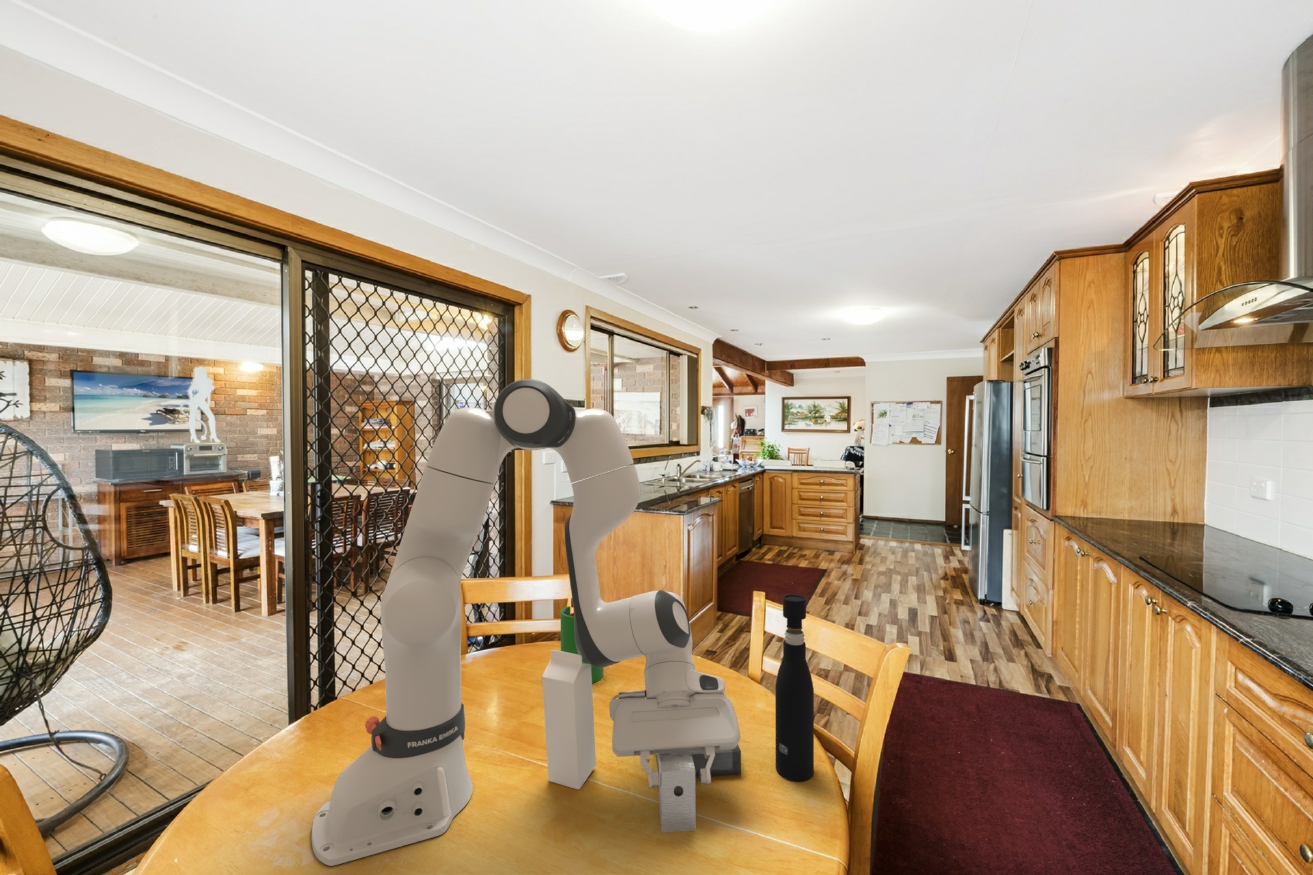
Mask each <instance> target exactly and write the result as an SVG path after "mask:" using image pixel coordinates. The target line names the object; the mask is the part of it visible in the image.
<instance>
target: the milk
mask: <svg viewBox="0 0 1313 875" xmlns="http://www.w3.org/2000/svg"><path fill="white" fill-rule="evenodd" d="M544 669H545V670H544V672H543V674H542V676H541V681H542V694H543V697H542V698H543V710H544V713H543V714H544V727H545V730H544V731H545V743H546V744H545V745H546V759H547V760H546V761H547V774H548V775H547V777H548V781H549V782H550V783H555V784H558V785H561V786H565V787H568V788H572V789H575V790H578V791H579V790H580V789H581V788H582V787H583V785H584V784H585V782H586V781H587V780H588V778H589V776H590V774H592V772H593V770H595V768H596V766H597V759H596V758H597V757H596V756H597V755H596V737H595V735H596V734H595V717H594V696H593V683H592V674H591V664H587V663H582V656H581V655H578V654H573V653H568V652H562V651H561V650H556V649H551V650H550V659H549V661H548V664H547V665H546V668H544Z"/></svg>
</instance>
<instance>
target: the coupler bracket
mask: <svg viewBox="0 0 1313 875" xmlns="http://www.w3.org/2000/svg"><path fill="white" fill-rule="evenodd" d="M676 754H691V755H692V759H693V763H694V767H695V778H700V776H699V771H700V769H705V767H706V764H707V762H708V759H705V756H704V751H698V752H683V753H669V754H655V757H656V763H657V772H658V773H659V755H676ZM738 774H740V776H741V775H742V751H741V748H740V745H739V744H738V745H737V746H736V747H735V748H734V749H728V750H715V757H714V759H713V762H712V765H711V768H710V776H711V777H721V776H738Z"/></svg>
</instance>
